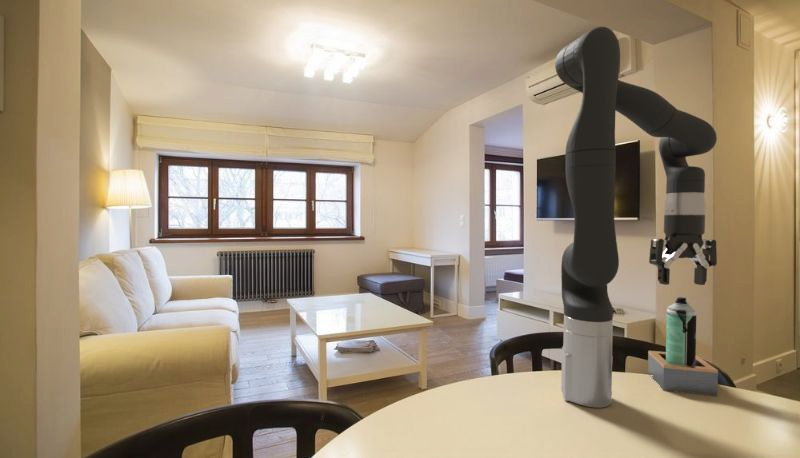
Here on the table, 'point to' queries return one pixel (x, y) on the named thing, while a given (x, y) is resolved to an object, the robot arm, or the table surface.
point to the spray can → (681, 333)
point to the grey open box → (683, 375)
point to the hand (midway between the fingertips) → (681, 284)
